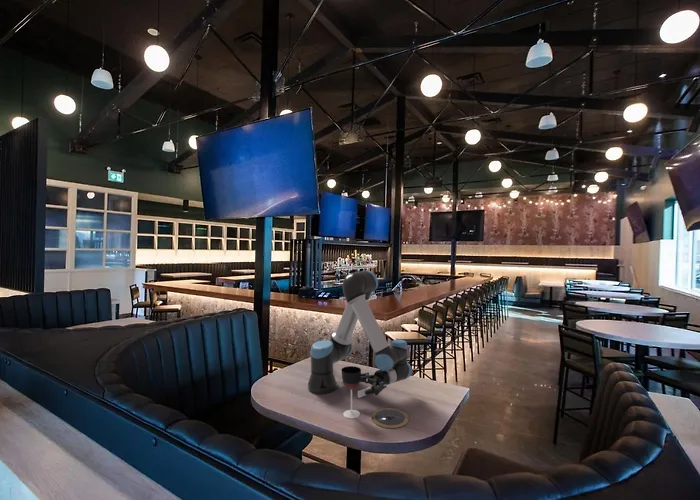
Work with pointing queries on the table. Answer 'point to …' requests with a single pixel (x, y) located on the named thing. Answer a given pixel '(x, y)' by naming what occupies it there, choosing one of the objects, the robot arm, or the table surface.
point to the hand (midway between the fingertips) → (348, 388)
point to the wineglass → (351, 386)
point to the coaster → (390, 418)
